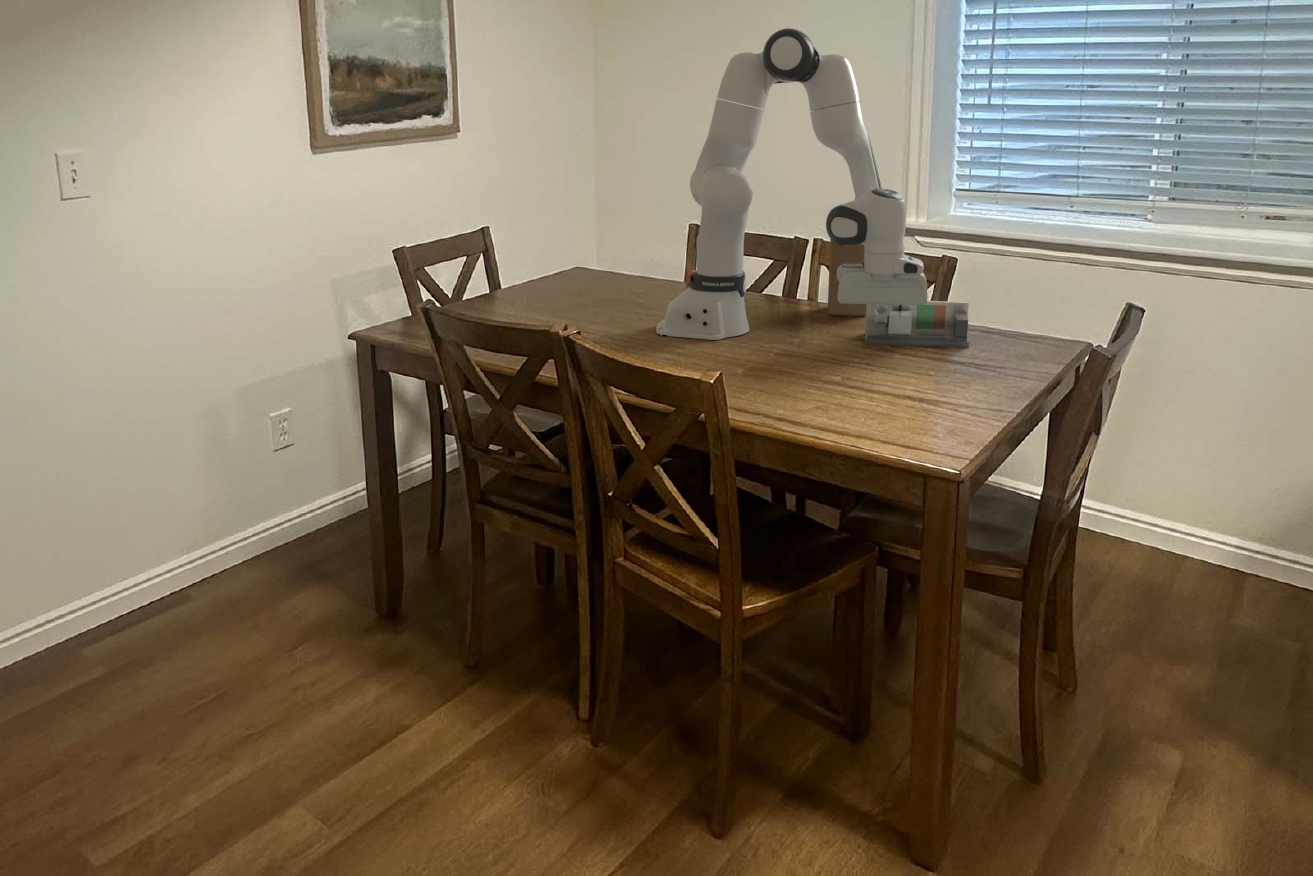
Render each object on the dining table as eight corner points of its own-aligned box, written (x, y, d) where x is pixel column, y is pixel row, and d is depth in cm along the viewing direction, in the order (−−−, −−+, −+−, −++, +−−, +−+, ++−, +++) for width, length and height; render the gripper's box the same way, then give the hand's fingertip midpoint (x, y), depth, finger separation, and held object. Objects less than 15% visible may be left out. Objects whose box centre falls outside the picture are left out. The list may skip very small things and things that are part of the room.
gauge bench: (864, 344, 257) (866, 309, 254) (865, 333, 266) (866, 299, 263) (968, 347, 253) (971, 311, 250) (965, 335, 262) (968, 301, 259)
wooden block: (867, 317, 280) (871, 237, 273) (827, 316, 282) (830, 236, 275) (868, 307, 290) (872, 229, 283) (829, 306, 291) (832, 229, 284)
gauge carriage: (888, 337, 256) (889, 309, 254) (887, 330, 263) (889, 302, 260) (910, 338, 256) (912, 310, 253) (909, 330, 262) (911, 303, 259)
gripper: (836, 265, 252) (834, 325, 257) (930, 266, 249) (926, 327, 253) (837, 259, 258) (835, 318, 263) (928, 260, 254) (925, 320, 259)
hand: (880, 322), depth 258 cm, fingers closed
